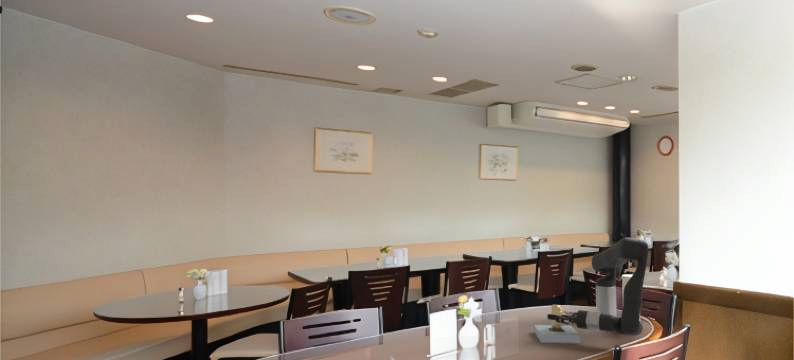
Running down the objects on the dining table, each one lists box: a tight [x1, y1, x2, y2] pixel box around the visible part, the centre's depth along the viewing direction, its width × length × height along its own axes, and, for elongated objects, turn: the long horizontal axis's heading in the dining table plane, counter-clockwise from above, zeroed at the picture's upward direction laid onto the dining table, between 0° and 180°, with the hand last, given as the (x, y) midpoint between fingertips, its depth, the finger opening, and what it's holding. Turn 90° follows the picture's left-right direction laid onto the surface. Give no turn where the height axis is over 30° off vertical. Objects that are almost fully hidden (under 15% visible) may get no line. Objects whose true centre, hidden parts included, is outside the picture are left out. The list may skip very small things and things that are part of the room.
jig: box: [534, 324, 581, 344], centre depth 222 cm, size 16×16×4 cm
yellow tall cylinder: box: [551, 304, 563, 332], centre depth 222 cm, size 4×4×14 cm
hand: (550, 315), depth 224 cm, fingers open, 5 cm apart
